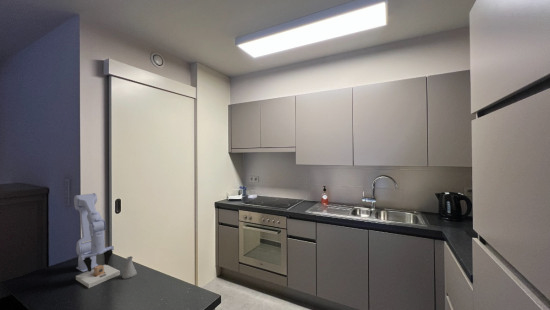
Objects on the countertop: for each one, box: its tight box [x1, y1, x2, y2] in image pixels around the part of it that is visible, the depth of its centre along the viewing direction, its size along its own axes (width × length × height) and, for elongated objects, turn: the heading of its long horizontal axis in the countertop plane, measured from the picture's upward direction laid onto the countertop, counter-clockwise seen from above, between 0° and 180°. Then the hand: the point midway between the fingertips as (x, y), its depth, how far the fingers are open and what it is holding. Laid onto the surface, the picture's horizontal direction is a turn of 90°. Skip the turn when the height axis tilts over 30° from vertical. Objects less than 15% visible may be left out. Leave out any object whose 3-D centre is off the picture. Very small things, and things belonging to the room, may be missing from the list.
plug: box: [93, 264, 104, 277], centre depth 118 cm, size 5×3×6 cm, turn 61°
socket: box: [75, 264, 121, 289], centre depth 119 cm, size 16×14×2 cm
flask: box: [121, 256, 138, 280], centre depth 120 cm, size 7×7×10 cm
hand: (98, 267), depth 119 cm, fingers open, 7 cm apart
